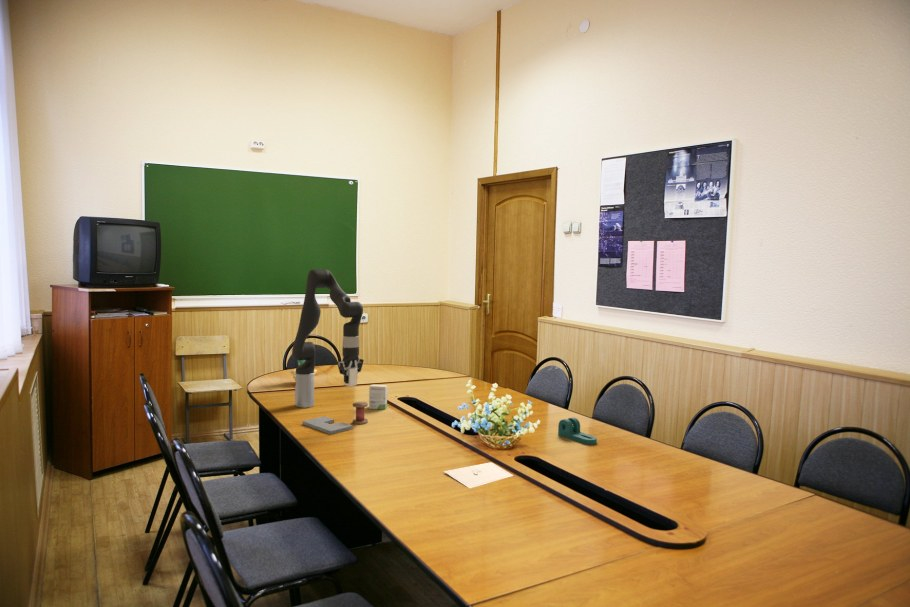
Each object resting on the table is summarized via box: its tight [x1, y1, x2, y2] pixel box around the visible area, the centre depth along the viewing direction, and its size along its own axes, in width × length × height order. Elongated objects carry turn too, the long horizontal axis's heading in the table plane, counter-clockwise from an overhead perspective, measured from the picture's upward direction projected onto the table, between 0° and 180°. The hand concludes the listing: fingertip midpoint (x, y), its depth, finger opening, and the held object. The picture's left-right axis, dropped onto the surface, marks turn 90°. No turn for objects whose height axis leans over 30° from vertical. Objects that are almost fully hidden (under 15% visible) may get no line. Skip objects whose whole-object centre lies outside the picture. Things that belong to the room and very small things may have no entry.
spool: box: [352, 401, 369, 425], centre depth 282 cm, size 7×7×9 cm
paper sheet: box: [443, 461, 514, 489], centre depth 213 cm, size 24×29×1 cm
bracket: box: [557, 416, 598, 446], centre depth 262 cm, size 18×7×8 cm, turn 37°
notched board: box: [302, 415, 354, 435], centre depth 274 cm, size 22×12×2 cm, turn 48°
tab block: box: [343, 367, 358, 387], centre depth 274 cm, size 4×4×8 cm
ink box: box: [368, 384, 388, 410], centre depth 308 cm, size 9×5×12 cm, turn 84°
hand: (350, 382), depth 274 cm, fingers closed on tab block, 4 cm apart
